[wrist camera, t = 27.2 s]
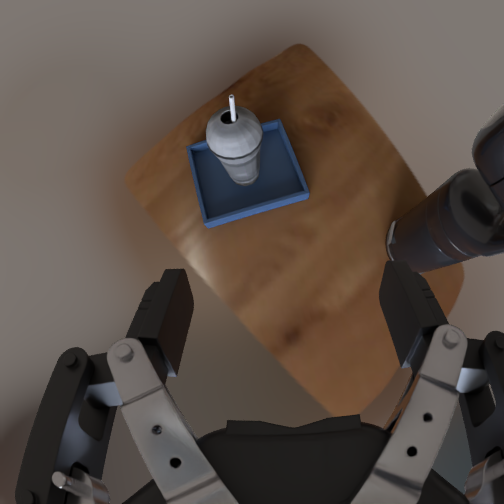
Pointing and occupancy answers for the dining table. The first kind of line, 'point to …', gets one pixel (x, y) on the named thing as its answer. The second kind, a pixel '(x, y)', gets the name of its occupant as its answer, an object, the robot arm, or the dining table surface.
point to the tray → (252, 196)
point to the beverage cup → (236, 142)
